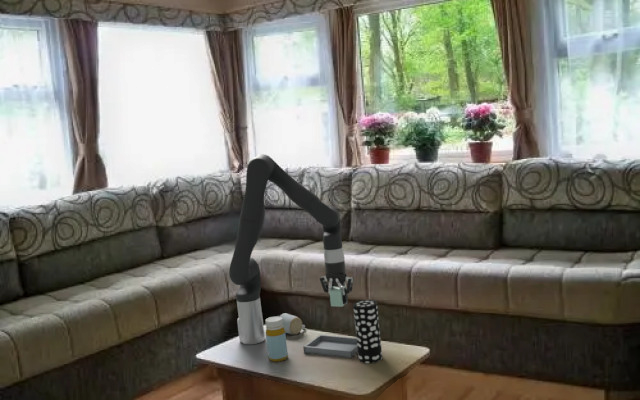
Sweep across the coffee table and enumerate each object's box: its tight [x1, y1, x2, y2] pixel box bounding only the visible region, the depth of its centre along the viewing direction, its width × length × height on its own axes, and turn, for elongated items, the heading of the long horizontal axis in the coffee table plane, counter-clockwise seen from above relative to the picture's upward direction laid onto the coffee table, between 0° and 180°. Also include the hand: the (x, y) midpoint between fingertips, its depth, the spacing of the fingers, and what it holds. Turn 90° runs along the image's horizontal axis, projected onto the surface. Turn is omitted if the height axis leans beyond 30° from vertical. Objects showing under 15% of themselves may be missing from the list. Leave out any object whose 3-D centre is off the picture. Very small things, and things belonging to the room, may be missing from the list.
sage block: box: [329, 286, 348, 308], centre depth 248 cm, size 5×5×6 cm
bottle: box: [265, 315, 289, 363], centre depth 236 cm, size 7×7×15 cm
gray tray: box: [302, 334, 358, 359], centre depth 240 cm, size 20×13×2 cm, turn 60°
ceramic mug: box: [279, 312, 306, 336], centre depth 264 cm, size 11×8×8 cm
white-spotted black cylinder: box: [352, 299, 383, 364], centre depth 227 cm, size 8×8×20 cm
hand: (339, 303), depth 248 cm, fingers closed on sage block, 4 cm apart
